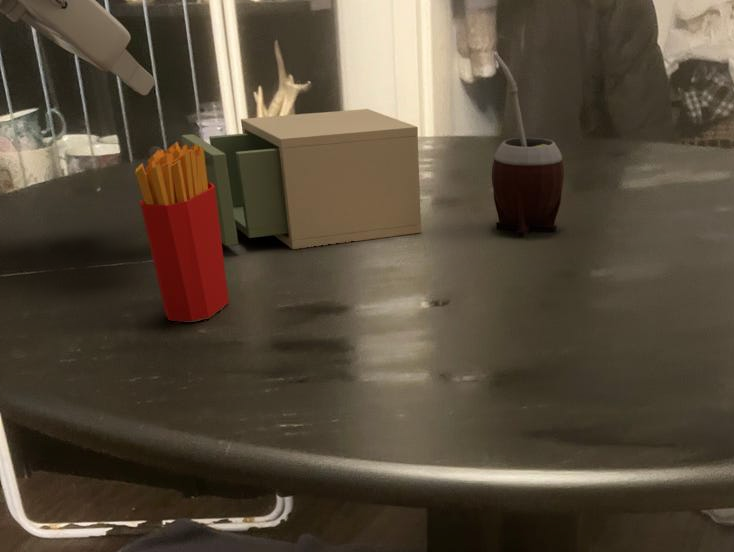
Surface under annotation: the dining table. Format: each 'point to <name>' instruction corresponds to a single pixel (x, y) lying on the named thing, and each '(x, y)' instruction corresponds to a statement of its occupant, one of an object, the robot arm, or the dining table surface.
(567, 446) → the dining table surface
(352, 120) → the cabinet
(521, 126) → the mate gourd
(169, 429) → the dining table surface
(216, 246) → the french fries
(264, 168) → the drawer
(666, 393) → the dining table surface
